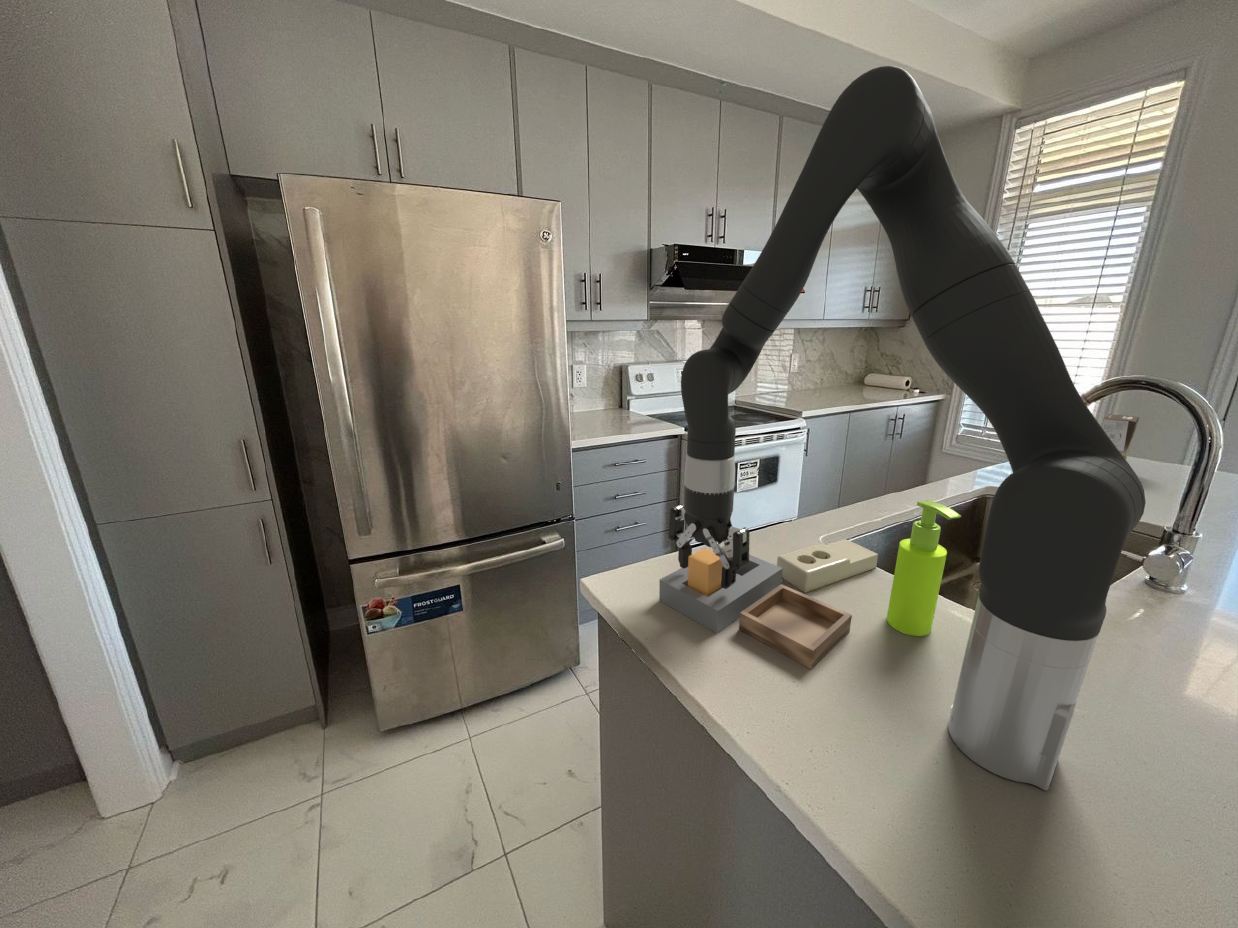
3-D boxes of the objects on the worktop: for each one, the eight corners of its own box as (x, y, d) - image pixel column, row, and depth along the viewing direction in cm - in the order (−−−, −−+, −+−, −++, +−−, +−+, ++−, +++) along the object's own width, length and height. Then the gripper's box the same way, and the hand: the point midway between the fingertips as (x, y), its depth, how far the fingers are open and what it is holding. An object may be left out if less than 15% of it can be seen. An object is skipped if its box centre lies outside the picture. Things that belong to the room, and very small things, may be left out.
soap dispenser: (914, 643, 69) (939, 516, 63) (877, 616, 75) (897, 498, 69) (946, 636, 70) (974, 511, 64) (908, 609, 77) (929, 493, 71)
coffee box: (1118, 478, 132) (1136, 421, 127) (1087, 473, 136) (1103, 418, 132) (1122, 471, 137) (1140, 416, 133) (1092, 466, 142) (1107, 413, 137)
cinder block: (780, 588, 83) (782, 568, 82) (716, 633, 72) (717, 610, 71) (724, 563, 92) (725, 544, 91) (659, 600, 81) (659, 579, 80)
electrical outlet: (878, 549, 88) (807, 573, 81) (875, 569, 90) (805, 594, 82) (846, 534, 95) (776, 555, 87) (843, 553, 96) (775, 575, 88)
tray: (849, 631, 72) (851, 614, 71) (811, 669, 65) (813, 650, 64) (779, 599, 80) (781, 584, 79) (738, 629, 73) (739, 612, 72)
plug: (721, 605, 79) (724, 556, 76) (706, 615, 77) (708, 565, 74) (702, 595, 82) (704, 548, 79) (687, 604, 79) (688, 556, 77)
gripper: (764, 488, 70) (756, 584, 75) (689, 466, 80) (687, 553, 85) (733, 501, 65) (727, 603, 70) (658, 477, 76) (657, 567, 81)
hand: (705, 575), depth 78 cm, fingers open, 8 cm apart
